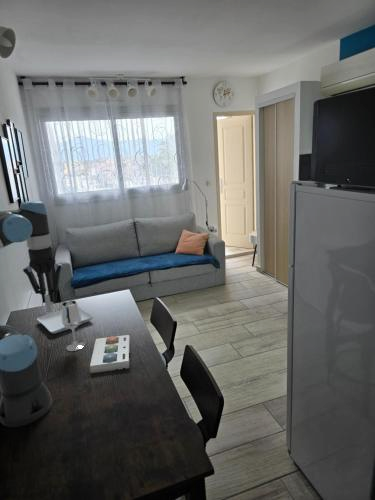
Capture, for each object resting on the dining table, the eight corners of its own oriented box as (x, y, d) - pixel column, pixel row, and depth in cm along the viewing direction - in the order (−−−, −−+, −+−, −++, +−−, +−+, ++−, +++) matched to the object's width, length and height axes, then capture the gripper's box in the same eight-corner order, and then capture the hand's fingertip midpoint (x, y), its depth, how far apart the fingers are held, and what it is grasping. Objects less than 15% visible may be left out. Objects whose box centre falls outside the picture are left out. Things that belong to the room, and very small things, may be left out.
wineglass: (77, 352, 134) (70, 308, 129) (62, 350, 137) (54, 306, 132) (88, 343, 141) (82, 300, 136) (73, 340, 144) (67, 298, 139)
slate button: (116, 365, 122) (115, 358, 121) (104, 366, 122) (103, 360, 121) (116, 358, 126) (115, 352, 126) (105, 360, 126) (104, 353, 125)
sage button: (117, 355, 128) (116, 349, 128) (105, 357, 128) (104, 350, 127) (117, 349, 133) (116, 343, 132) (106, 351, 132) (105, 344, 131)
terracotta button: (117, 346, 135) (117, 340, 134) (107, 348, 134) (106, 342, 133) (118, 341, 139) (117, 335, 138) (107, 342, 138) (107, 336, 138)
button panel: (129, 367, 122) (128, 360, 121) (90, 373, 120) (89, 365, 119) (129, 341, 141) (129, 334, 140) (96, 345, 139) (96, 338, 138)
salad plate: (36, 324, 163) (35, 317, 162) (77, 310, 176) (76, 304, 175) (52, 338, 147) (50, 331, 146) (95, 322, 161) (94, 316, 160)
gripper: (61, 243, 116) (71, 304, 122) (23, 246, 114) (34, 308, 120) (57, 247, 109) (67, 312, 114) (15, 251, 107) (28, 316, 113)
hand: (50, 310), depth 117 cm, fingers closed
